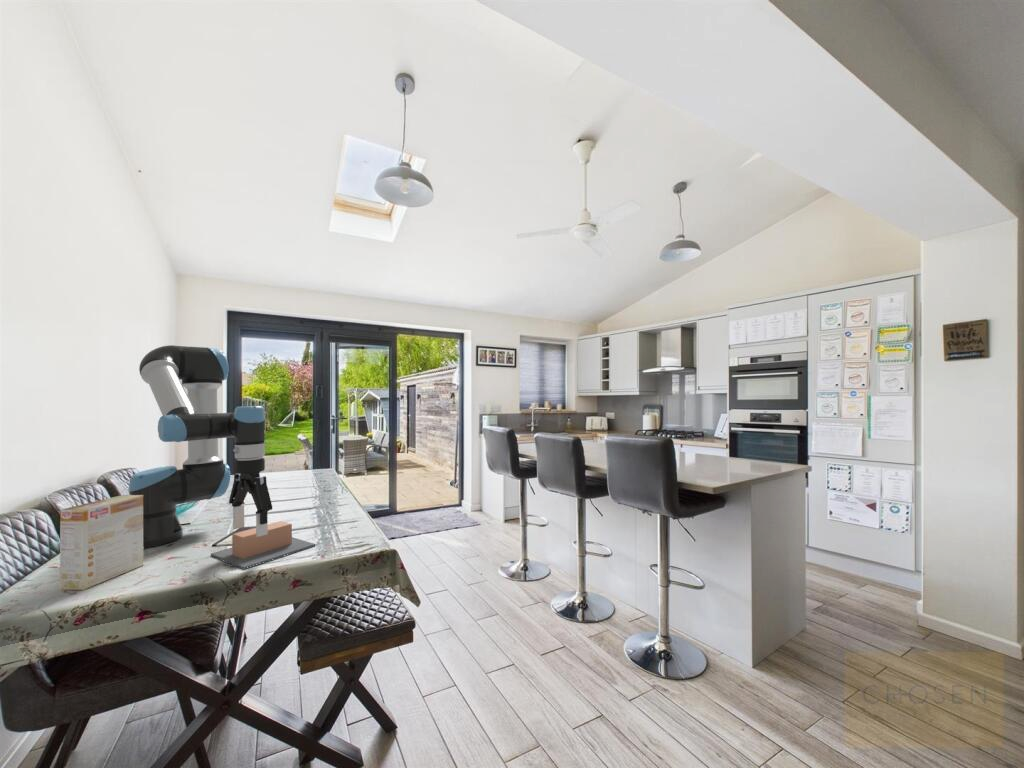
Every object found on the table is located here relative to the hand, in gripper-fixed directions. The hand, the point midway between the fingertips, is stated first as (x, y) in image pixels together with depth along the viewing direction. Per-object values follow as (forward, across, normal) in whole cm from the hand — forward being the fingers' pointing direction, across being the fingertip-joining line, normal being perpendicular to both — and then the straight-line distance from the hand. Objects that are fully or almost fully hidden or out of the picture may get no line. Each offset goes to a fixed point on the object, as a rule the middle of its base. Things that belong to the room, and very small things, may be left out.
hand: (249, 531), depth 121 cm
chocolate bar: (+7, -21, +7) cm, 24 cm away
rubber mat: (+7, 0, +4) cm, 8 cm away
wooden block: (+3, 0, -3) cm, 5 cm away
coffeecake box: (+7, -18, -27) cm, 33 cm away
